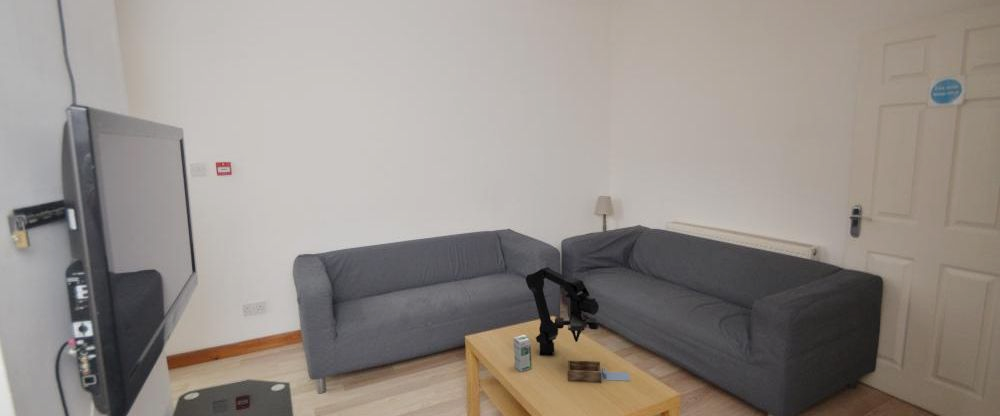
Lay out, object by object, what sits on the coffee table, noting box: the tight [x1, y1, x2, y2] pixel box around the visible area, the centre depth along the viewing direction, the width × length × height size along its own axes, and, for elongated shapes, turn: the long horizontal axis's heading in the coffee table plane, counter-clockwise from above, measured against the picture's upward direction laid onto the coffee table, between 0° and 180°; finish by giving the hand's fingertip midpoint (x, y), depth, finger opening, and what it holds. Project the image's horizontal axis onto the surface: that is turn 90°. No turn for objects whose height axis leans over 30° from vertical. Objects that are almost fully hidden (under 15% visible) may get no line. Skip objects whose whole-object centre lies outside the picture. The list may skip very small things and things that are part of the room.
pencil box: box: [567, 359, 602, 383], centre depth 193 cm, size 14×9×5 cm, turn 82°
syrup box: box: [512, 334, 533, 373], centre depth 201 cm, size 6×6×14 cm
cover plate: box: [601, 367, 631, 382], centre depth 192 cm, size 12×7×3 cm, turn 83°
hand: (576, 341), depth 200 cm, fingers closed
